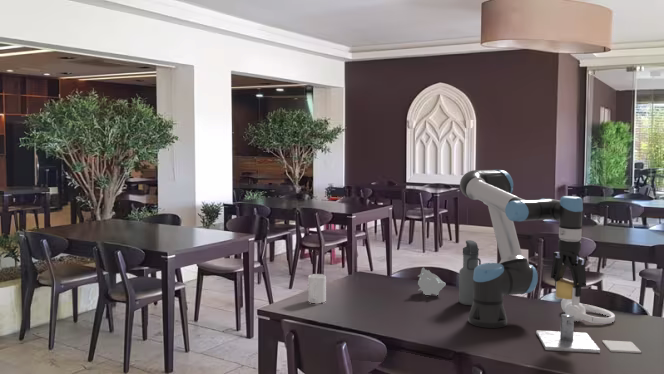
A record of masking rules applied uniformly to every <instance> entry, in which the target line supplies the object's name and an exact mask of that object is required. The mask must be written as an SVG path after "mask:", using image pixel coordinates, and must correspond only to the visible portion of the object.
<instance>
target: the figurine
mask: <svg viewBox="0 0 664 374" xmlns="http://www.w3.org/2000/svg"><path fill="white" fill-rule="evenodd" d="M417 277H419V278H418V281H417V286H419V289H418V290H417V291H421V292H422V291H423V292H422V294H423V295H424V294H425V295H430V296H431V295H432V294H433V295H435V296H437V295H438V296H439V293H440V291H441V290H443V288H444V287H446V282H444V281H443V280H442V279H441V278H440V277H439V276H438V275H436V274H435V273H432V272H431V271H430V270H429V269H428V270H427V269H425V267H421V270H420V274H418V275H417ZM425 295H424V296H425Z"/></svg>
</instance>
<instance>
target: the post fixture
mask: <svg viewBox="0 0 664 374" xmlns="http://www.w3.org/2000/svg"><path fill="white" fill-rule="evenodd" d="M574 322H575V321H574V316H573V315H570V314H566V313H562V314H560V331H559V330H558V331H555V330H536V331H535V332H536V333H535V334H536V335H537V338H538V339H539V341H540V342H541V345H542V346H543V348H544V350H545V351H557V352H558V351H559V352H560V351H561V352H577V353H578V352H579V353H594V354H595V353H596V354H598V353H601V349H600V347H599V346H598V345H597V343H595V341H594V340H593V339H592V338H591V336H590V335H589V334H588V333H587V332H579V331H578V332H577V331H576V332H575V331H574V327H575V325H574V324H575V323H574Z"/></svg>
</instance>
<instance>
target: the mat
mask: <svg viewBox="0 0 664 374" xmlns="http://www.w3.org/2000/svg"><path fill="white" fill-rule="evenodd" d="M601 342H602V343H603V344H604V345H605V347H606V349H608V350H609V351H610V352H612V353H629V354H630V353H632V354H633V353H635V354H642V351H641V350H640V349H639V347H638V346H637V345H635V344H634V343H633V341H625V340H622V341H621V340H606V339H605V340H604V339H602V341H601Z"/></svg>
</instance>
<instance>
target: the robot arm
mask: <svg viewBox="0 0 664 374" xmlns="http://www.w3.org/2000/svg"><path fill="white" fill-rule="evenodd" d="M459 189H460V191H461V193H462V195H464V196H465V198H468V199H470V200H472V201H473V200H474V201H476V200H478V201H481V202H483V204H484V205H486V206H488V207H487V209H488V213H489V215H490V220H491V224H492V228H493V232H494V235H495V240H496V244H497V248H498V252H499V256H500V261H499V262H498V263H497V262H487V263H481V265H479V264H478V266H477V267H476V268H475V269H474V276H473V304H472V306H470V309H469V313H468V316H467V317H468V318H467V321H468V323H469V324H471V325H474V326H476V327H479V328H486V329H487V328H489V329H496V328H503V327H505V326H507V325H508V316H507V313H506V310H505V308H504V307H505V306H504V296H512V295H513V296H514V295H524V294H530V293H531V292H533V291H534V290H535V289H536V287H537V284H538V279H539V278H538V277H539V275H538V272H537V271H538V270H537V268H536V267H535V266H534V265H533V264H530V263H529V262H528V258H527V257H525V256H524V255H523V254H522V250H521V246H520V241H519V239H518V235H517V230H516V226H515V223H514V222H528V221H530V222H531V221H545V220H546V221H547V220H549V221H550V220H551V221H557V222H559V223H558V238H559V240H558V246H557V247H558V250H559V251H555V252H553V253H552V259H553V260H552V261H553V262H552V268H551V273H550V278H551V279H552V280H554V289H555V290H556V287H557V281H560V278H564V274H565V272H566V269H567V268H568V269H569V270H570V274H571V277H572V281H573V282H574V287H573V289H572V305H573V306H575V305H579V303H580V301H581V300H580V298H581V295H582V288H586V287H587V278H586V277H587V275H586V263H587V259H586V258H582V257H580V254H579V253H580V252H581V250H582V241H581V240H582V232H583V231H582V228H583V227H582V226H583V211H584V205H583V204H584V203H583V198H581V197H580V196H572V195H563V196H561V197H560V199H559V200H558V199H554V198H550V197H549V198H548V197H547V198H546V197H545V198H544V197H541V198H540V199H524V198H521V197H518V196H517V195H514V194H513V192H514V180H513V178H512V176H511V174H510V173H509V172H507V171H506V170H503V169H496V168H495V169H479V170H477V169H473V170H470V171H467V172H466V173H465V174H463V176H462V177H461V179H460V181H459ZM554 296H555V297H554V298H555V300H562V299H563V298H559V297H557V296H556V294H555V295H554Z"/></svg>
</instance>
